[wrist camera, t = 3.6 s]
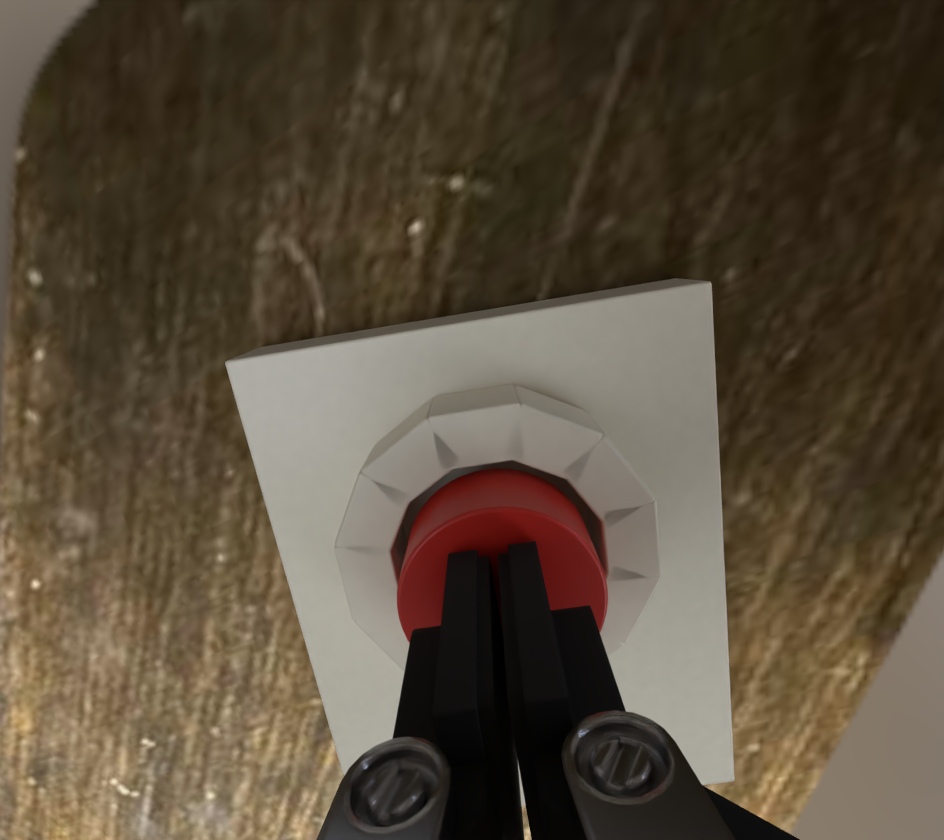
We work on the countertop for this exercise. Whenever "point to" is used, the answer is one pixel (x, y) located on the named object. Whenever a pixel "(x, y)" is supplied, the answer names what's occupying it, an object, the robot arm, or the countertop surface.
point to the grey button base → (506, 447)
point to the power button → (499, 543)
